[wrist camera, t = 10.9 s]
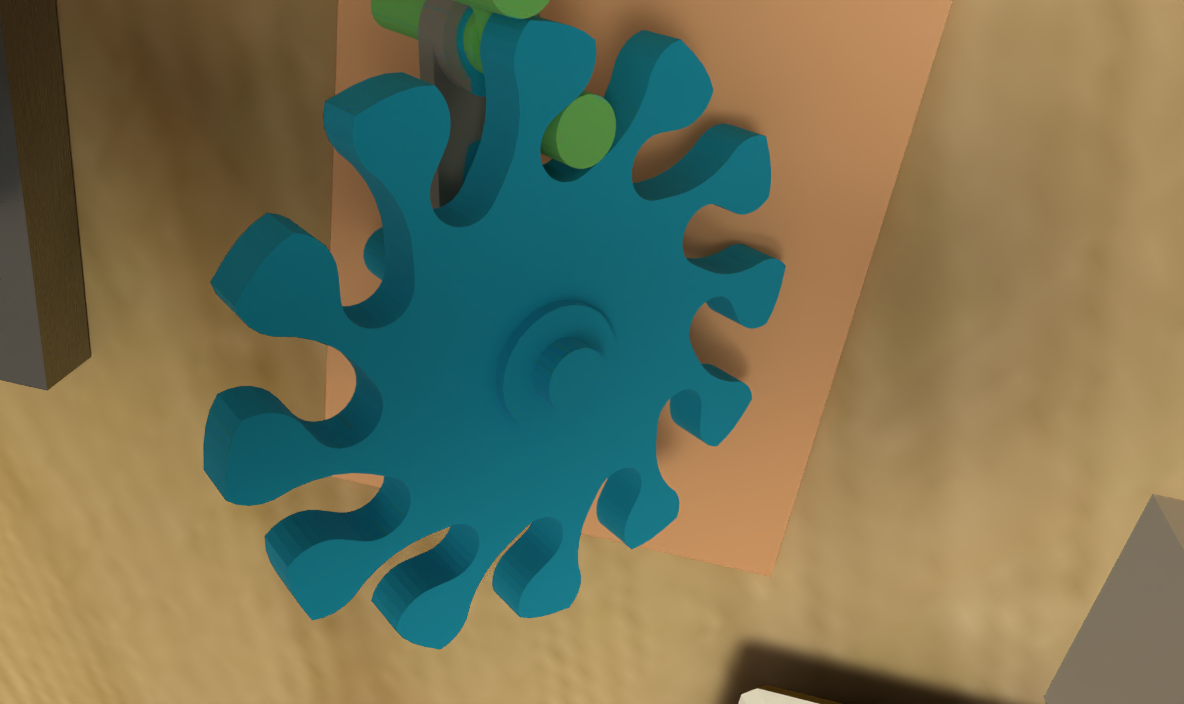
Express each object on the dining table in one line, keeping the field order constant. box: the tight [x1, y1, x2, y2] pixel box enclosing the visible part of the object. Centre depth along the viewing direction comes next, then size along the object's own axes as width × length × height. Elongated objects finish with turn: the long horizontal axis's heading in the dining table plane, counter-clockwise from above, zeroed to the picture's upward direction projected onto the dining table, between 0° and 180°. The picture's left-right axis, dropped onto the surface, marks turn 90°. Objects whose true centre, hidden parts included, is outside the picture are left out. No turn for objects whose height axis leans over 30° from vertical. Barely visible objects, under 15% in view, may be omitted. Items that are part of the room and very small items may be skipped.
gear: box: [204, 0, 786, 649], centre depth 16 cm, size 11×6×10 cm
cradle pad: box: [325, 0, 953, 577], centre depth 18 cm, size 15×10×1 cm, turn 171°
